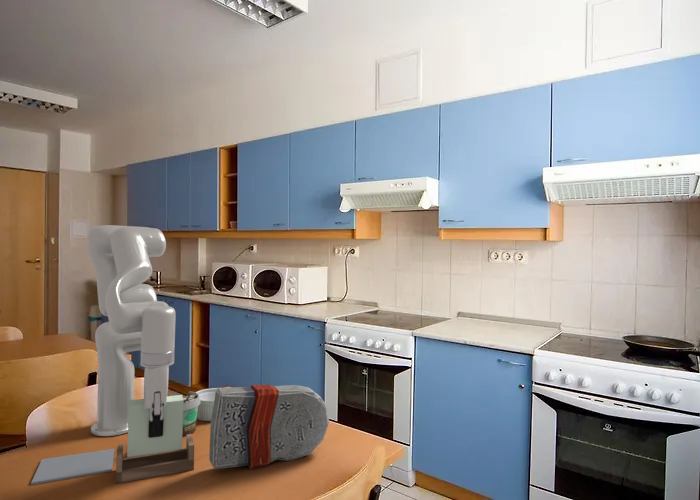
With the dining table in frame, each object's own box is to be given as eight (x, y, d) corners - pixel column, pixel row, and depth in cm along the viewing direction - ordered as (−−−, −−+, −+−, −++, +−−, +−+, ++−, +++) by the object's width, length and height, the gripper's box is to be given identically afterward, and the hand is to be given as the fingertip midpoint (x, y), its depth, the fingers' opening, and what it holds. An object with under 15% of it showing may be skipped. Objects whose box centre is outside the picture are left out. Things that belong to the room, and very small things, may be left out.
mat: (41, 461, 111) (41, 459, 111) (114, 450, 118) (114, 448, 118) (31, 484, 100) (31, 482, 100) (112, 471, 107) (112, 469, 107)
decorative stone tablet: (219, 392, 105) (334, 388, 119) (214, 384, 111) (324, 381, 124) (210, 476, 104) (327, 462, 118) (205, 464, 110) (317, 451, 124)
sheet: (127, 449, 108) (129, 400, 108) (180, 441, 113) (182, 394, 113) (127, 457, 105) (128, 406, 104) (181, 448, 110) (183, 400, 110)
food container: (185, 442, 124) (185, 406, 124) (164, 440, 125) (165, 404, 125) (207, 425, 136) (208, 392, 136) (189, 423, 137) (190, 390, 137)
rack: (117, 469, 108) (117, 444, 108) (190, 457, 115) (191, 433, 115) (115, 483, 102) (116, 457, 102) (193, 469, 109) (194, 444, 109)
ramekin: (197, 408, 150) (197, 387, 150) (237, 407, 152) (238, 387, 151) (187, 423, 137) (187, 401, 137) (231, 423, 138) (232, 400, 138)
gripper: (140, 350, 115) (138, 421, 115) (140, 368, 99) (138, 450, 100) (172, 348, 118) (169, 417, 118) (176, 365, 103) (174, 445, 103)
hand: (155, 431), depth 109 cm, fingers closed on sheet, 4 cm apart
